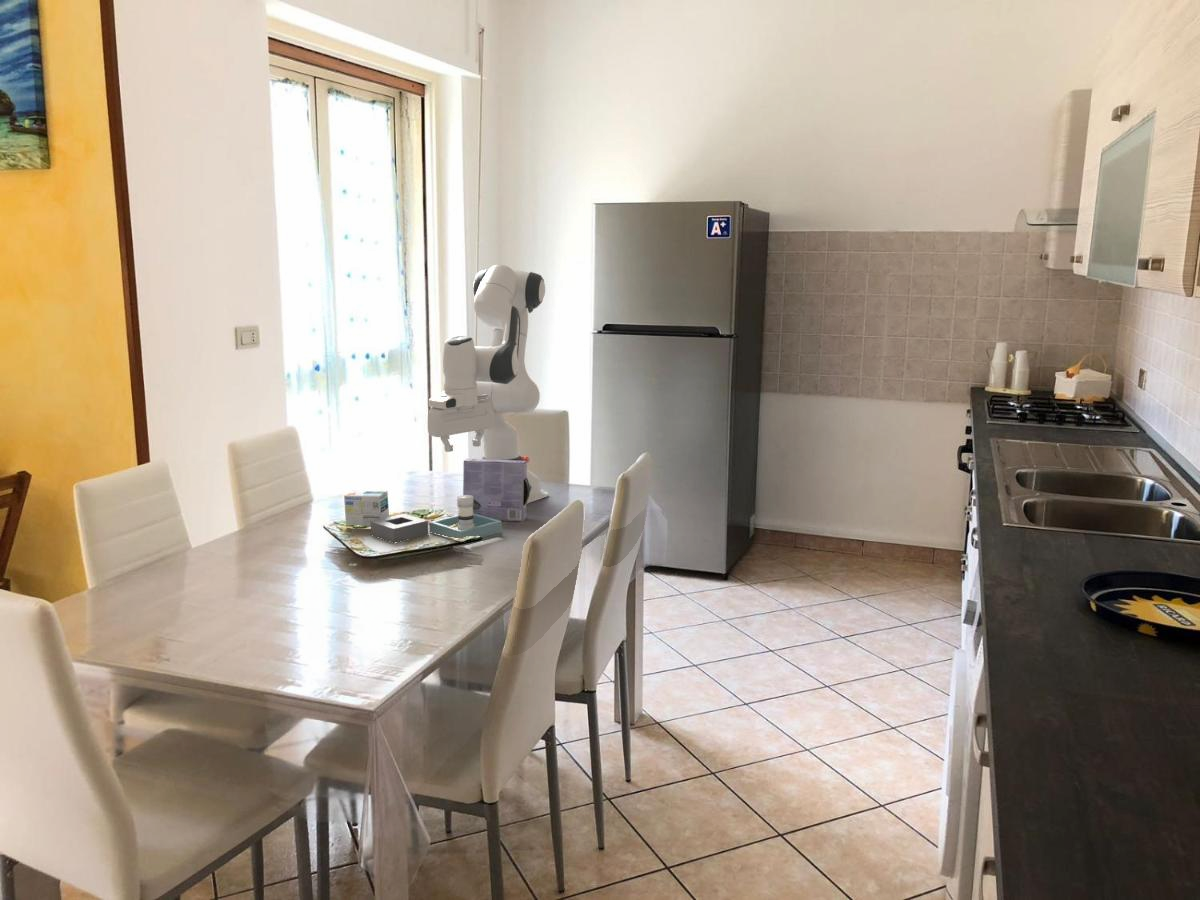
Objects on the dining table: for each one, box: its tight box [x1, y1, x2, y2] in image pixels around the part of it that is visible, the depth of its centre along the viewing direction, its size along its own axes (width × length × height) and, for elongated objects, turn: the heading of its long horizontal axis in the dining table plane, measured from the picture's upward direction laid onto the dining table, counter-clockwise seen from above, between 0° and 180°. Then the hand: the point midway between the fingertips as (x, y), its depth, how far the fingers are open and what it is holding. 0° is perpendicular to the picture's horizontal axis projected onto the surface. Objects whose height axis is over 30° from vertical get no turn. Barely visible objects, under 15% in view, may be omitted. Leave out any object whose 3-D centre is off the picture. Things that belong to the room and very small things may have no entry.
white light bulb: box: [456, 494, 474, 530], centre depth 256 cm, size 4×4×10 cm
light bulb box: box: [343, 489, 390, 527], centre depth 263 cm, size 11×7×11 cm, turn 84°
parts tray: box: [428, 513, 503, 547], centre depth 257 cm, size 14×14×4 cm
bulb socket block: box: [370, 513, 429, 544], centre depth 255 cm, size 11×11×5 cm
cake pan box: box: [462, 458, 530, 522], centre depth 273 cm, size 19×5×18 cm, turn 84°
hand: (463, 448), depth 253 cm, fingers open, 8 cm apart
